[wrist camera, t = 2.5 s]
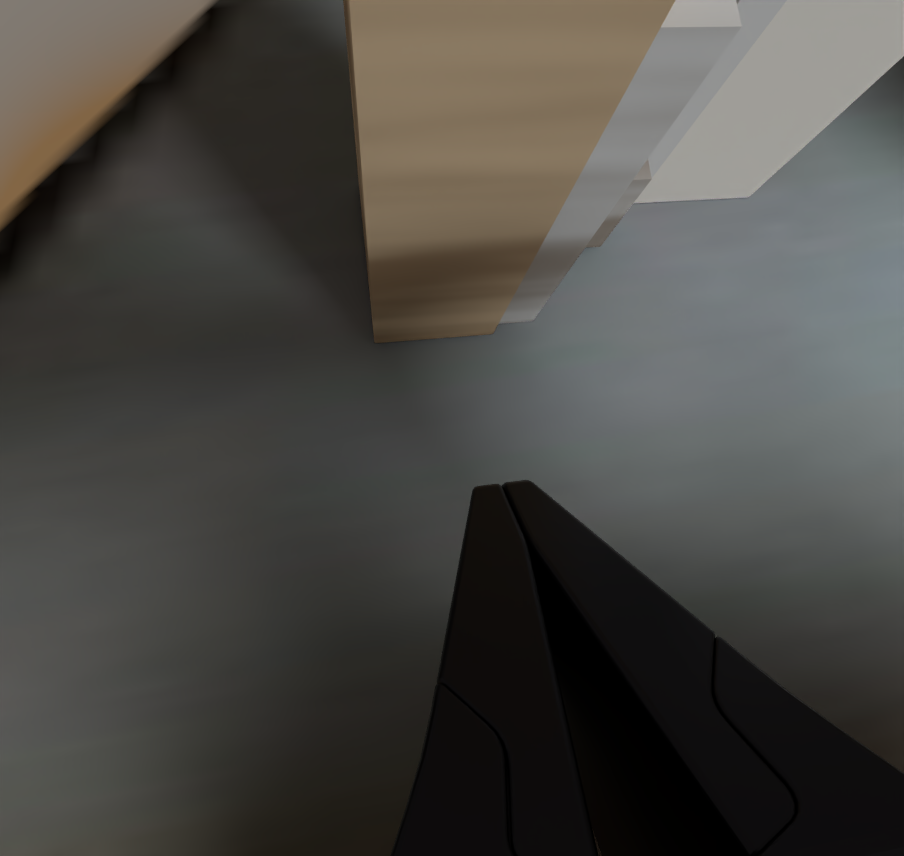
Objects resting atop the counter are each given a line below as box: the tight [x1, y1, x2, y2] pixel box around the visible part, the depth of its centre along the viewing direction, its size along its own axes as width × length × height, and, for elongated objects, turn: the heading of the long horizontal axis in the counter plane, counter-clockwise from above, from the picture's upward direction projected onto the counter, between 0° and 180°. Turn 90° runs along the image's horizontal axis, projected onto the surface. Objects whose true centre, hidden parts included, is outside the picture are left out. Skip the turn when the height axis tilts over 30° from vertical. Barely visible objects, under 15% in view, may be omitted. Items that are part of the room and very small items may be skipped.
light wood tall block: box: [343, 0, 742, 343], centre depth 12 cm, size 5×7×12 cm
